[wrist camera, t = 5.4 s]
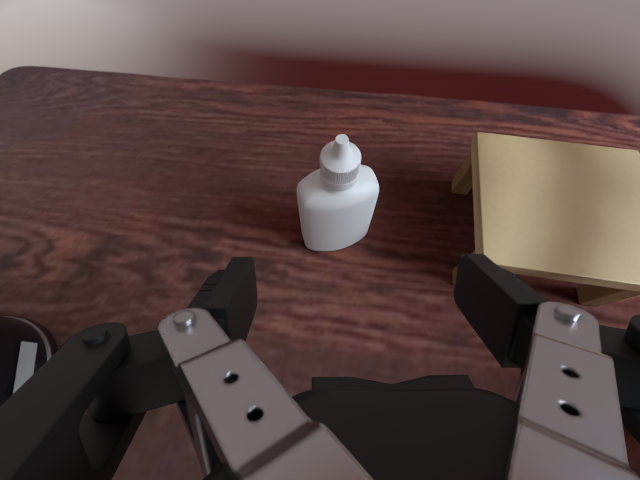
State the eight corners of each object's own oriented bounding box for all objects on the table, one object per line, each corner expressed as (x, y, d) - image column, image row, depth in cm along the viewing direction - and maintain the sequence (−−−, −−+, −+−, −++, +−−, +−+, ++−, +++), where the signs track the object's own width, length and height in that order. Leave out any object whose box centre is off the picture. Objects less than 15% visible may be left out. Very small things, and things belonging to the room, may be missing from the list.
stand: (448, 288, 26) (483, 262, 20) (448, 177, 30) (476, 131, 25) (601, 311, 25) (682, 290, 20) (578, 194, 30) (639, 150, 24)
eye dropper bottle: (309, 205, 29) (302, 101, 18) (369, 218, 29) (399, 118, 18) (297, 248, 28) (280, 161, 17) (360, 262, 27) (387, 182, 16)
